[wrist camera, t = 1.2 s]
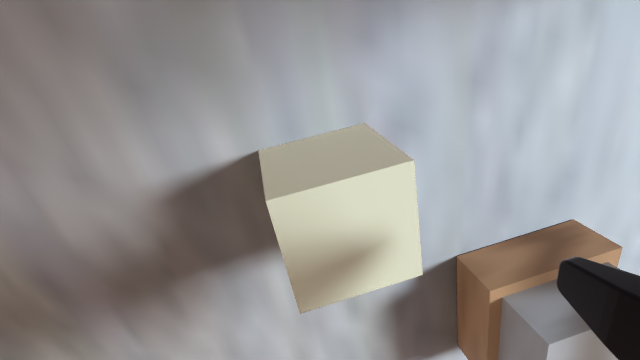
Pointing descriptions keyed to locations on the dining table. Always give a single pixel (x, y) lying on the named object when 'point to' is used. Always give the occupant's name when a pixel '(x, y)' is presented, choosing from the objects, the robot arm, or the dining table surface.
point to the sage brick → (342, 214)
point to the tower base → (516, 276)
